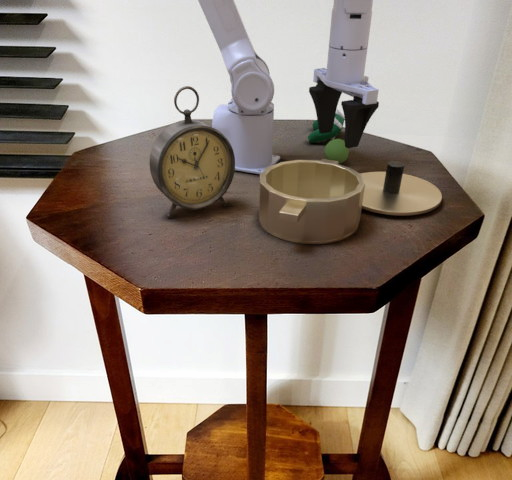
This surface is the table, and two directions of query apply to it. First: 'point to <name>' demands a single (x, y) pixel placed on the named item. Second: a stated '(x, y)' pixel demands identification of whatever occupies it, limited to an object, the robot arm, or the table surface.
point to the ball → (336, 150)
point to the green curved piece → (337, 127)
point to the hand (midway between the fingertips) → (338, 139)
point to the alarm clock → (192, 162)
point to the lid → (398, 192)
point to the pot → (310, 201)
